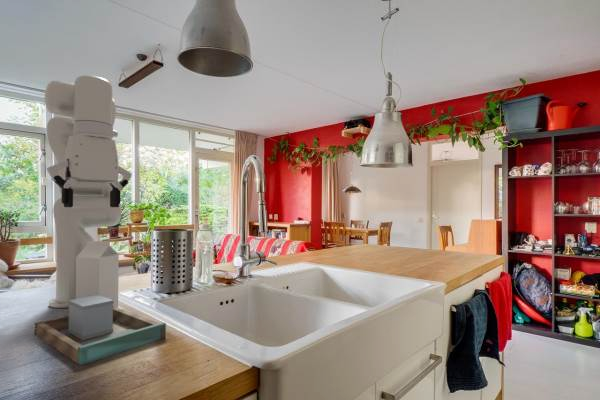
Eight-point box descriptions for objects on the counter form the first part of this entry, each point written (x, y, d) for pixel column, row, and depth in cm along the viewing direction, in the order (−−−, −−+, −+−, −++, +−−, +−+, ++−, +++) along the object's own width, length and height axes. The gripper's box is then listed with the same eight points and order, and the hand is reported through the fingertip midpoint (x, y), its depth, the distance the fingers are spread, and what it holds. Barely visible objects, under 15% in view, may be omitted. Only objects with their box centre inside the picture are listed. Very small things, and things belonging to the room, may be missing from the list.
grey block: (67, 332, 77) (68, 300, 77) (97, 324, 82) (97, 294, 82) (82, 340, 72) (83, 306, 72) (113, 331, 77) (113, 300, 77)
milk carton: (98, 316, 88) (99, 242, 89) (75, 314, 90) (76, 242, 90) (118, 308, 95) (119, 240, 96) (96, 307, 96) (97, 239, 97)
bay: (34, 334, 76) (34, 320, 76) (112, 315, 89) (112, 303, 89) (80, 365, 60) (80, 348, 60) (165, 337, 73) (165, 323, 74)
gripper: (123, 140, 87) (123, 207, 87) (42, 127, 74) (41, 207, 73) (138, 136, 83) (138, 207, 83) (54, 122, 69) (53, 207, 69)
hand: (92, 207), depth 78 cm, fingers open, 9 cm apart
